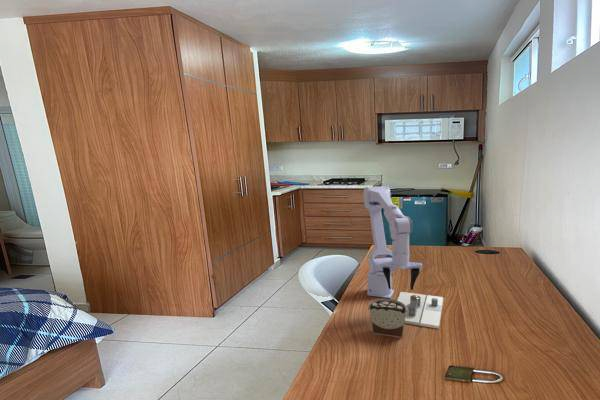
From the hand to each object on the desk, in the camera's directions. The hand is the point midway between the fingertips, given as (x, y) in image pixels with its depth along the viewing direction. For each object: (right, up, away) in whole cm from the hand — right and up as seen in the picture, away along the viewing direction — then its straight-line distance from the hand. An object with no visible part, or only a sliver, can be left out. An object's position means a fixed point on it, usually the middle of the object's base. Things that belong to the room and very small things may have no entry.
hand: (400, 288), depth 128 cm
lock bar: (+5, -8, +2) cm, 9 cm away
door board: (+7, -9, +4) cm, 12 cm away
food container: (-7, -12, -10) cm, 17 cm away
